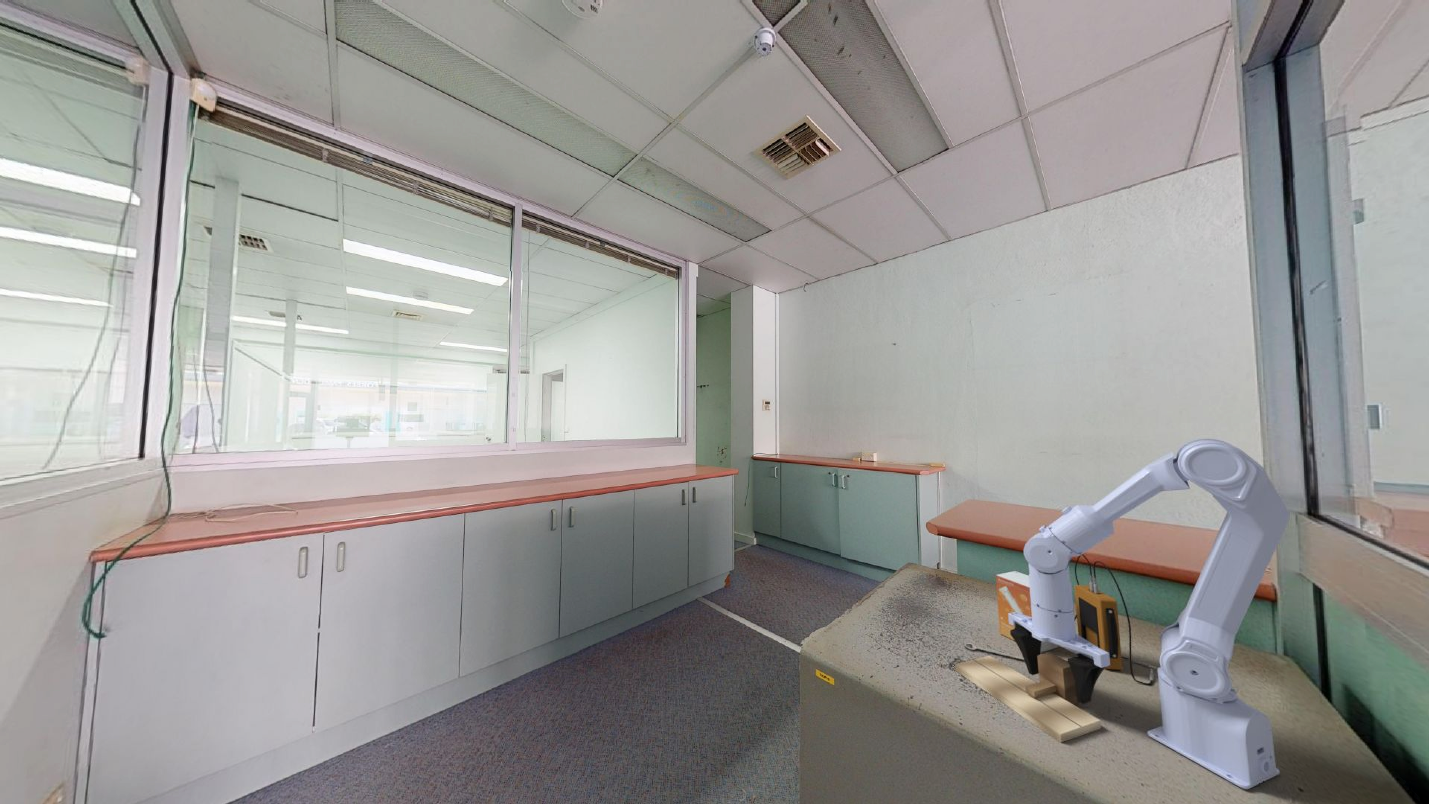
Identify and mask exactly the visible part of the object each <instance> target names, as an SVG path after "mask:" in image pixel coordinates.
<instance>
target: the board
mask: <svg viewBox="0 0 1429 804" xmlns="http://www.w3.org/2000/svg"><path fill="white" fill-rule="evenodd" d="M954 668H955V672H957V673H959V674H960V675H962V677H964V678H966V679H967V680H969V681H970V682H971V683H973V684H974V685H976V686H978V687H979V688H980V689H982V690H984V692H986V693H987V694H989V695H991V696H992V697H994V698H995V699H996V700H998V701H999V702H1001V703H1002V704H1004V705H1006V706H1007V708H1010V709H1011V710H1012V711H1014V712H1015V713H1017V714H1019V715H1020V716H1021V717H1023V718H1024V719H1025V720H1027V721H1029V722H1030V723H1031V724H1033V725H1035V726H1036V727H1037V728H1039V729H1040V730H1042V731H1043V732H1044V733H1046V734H1048V736H1051V737H1052V738H1054V739H1055V740H1056V741H1058V742H1059V743H1061V742H1062V743H1064V741H1065V742H1067V741H1070V740H1073V739H1075V738H1079V737H1081V736H1083V735H1084V736H1085V735H1087V734H1090V733H1092V732H1096V731H1098V730H1101V729H1102V727H1101V726H1102V725H1101V719H1099V718H1097V717H1095V716H1094V715H1092V714H1090V713H1088V712H1086V711H1085V710H1083V709H1082V708H1080V707H1078V706H1076V705H1075V704H1071V703H1070V702H1068V701H1066V700H1064V699H1063V698H1061V697H1059V696H1058V695H1056V694H1054V693H1049V694H1046V695H1043V696H1039V697H1036V698H1034V697H1032V696H1030V695H1029V694H1027V693H1026V687H1025V686H1028V685H1032V684H1035V683H1036V682H1035V681H1034V680H1032V679H1030V678H1028V677H1026V676H1025V675H1023V674H1022V673H1020V672H1018V671H1017V670H1015V669H1013V668H1011V667H1010V666H1008V665H1006V664H1004V663H1003V662H1001V661H1000V660H998V659H996V658H994V657H993V656H991V655H987V656H983V657H977V658H975V659H974V658H973V659H971V660H966V661H962V662H959V663H956V664H955V666H954Z"/></svg>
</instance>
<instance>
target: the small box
mask: <svg viewBox="0 0 1429 804" xmlns="http://www.w3.org/2000/svg"><path fill="white" fill-rule="evenodd" d="M995 576H996V577H995V579H996V595H997V609H998V610H997V611H998V612H997V613H998V624H999V625H998V627H999V634H1000V635H1002V636H1004V637H1006V638H1008V639H1010V640H1012V641H1014V642H1015V640H1014V639H1013V637H1012V636H1011V634H1010V630H1013V629H1014V628H1015V626H1013V625H1011V624H1009V617H1008V613H1013V612H1018V613H1020V614H1023V615H1026V616H1029V617H1032V612H1031V599H1030V586H1029V574H1025V573H1022V572H1019V571H1016V570H1014V571H1009V572H1002V573H999V574H996V575H995ZM1059 647H1060V646H1059V645H1057V644H1054V643H1051V642H1048V641H1047V642H1041V653H1044V652H1047V651H1050V650H1054V649H1057V648H1059Z"/></svg>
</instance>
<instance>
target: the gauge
mask: <svg viewBox="0 0 1429 804" xmlns="http://www.w3.org/2000/svg"><path fill="white" fill-rule="evenodd" d="M1037 657H1038V670H1039V674H1038V682H1035V684H1032V685H1028V686H1025V687H1026V693H1027V694H1029V695H1030V696H1032V697H1034V698H1036V697H1039V696H1043V695H1046V694H1049V693H1054V694H1056V695H1058V696H1059V697H1061V698H1063V699H1064V700H1066V701H1068V702H1070V703H1071V704H1073V705H1075V704H1077V703H1079V702H1078V701H1077V697H1076V691H1075V681H1074V677H1073V673H1072V670H1071V667H1070V665H1069V663H1068V660H1066V659H1064V658H1062V657H1060V656H1058V655H1056V654H1054V653H1053V652H1049V651H1048V652H1045V653H1043V654H1042V653H1041V655H1038V656H1037Z"/></svg>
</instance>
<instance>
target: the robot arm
mask: <svg viewBox="0 0 1429 804" xmlns="http://www.w3.org/2000/svg"><path fill="white" fill-rule="evenodd" d="M1188 481H1190V482H1192V483H1193V484H1195V485H1196V486H1197V487H1199V488H1201V489H1203V490H1204V491H1206V492H1208V493H1209V494H1211V495H1212V498H1214V500H1216V501H1217V503H1219V504H1220V506H1221V507H1222V508H1223V509H1224V511H1226V514H1225V516H1224V519H1223V521H1222V523H1221V525H1220V528H1219V530H1218V532H1217V534H1216V537H1215V539H1214V541H1213V544H1212V546H1211V549H1210V551H1209V552H1208V555H1207V557H1206V560H1205V562H1204V564H1203V567H1202V569H1201V571H1200V574H1199V576H1198V579H1197V581H1196V583H1195V585H1194V587H1193V590H1192V591H1191V594H1190V596H1189V599H1188V601H1187V604H1186V606H1185V608H1184V609H1183V610H1182V611H1181V612H1180V613H1179V614H1178V615H1179V616H1178V618H1177V620H1176V621H1175V622H1174V623H1172V624H1171V625H1169V626H1166V627H1165V628H1163V629H1162V630H1161V632H1160V635H1159V642H1160V644H1161V645H1160V646H1161V654H1159V655H1160V656H1159V665H1160V666H1159V667H1157V668H1158V669H1157V678H1158V687H1159V688H1158V690H1159V699H1160V700H1159V701H1160V710H1161V721H1162V725H1161V726H1158V727H1156V728H1153V729H1151V730H1148V731H1147V736H1149V737H1150V738H1152V739H1154V740H1155V741H1157V742H1160V743H1161V744H1163V745H1164V746H1166V747H1168V748H1170V749H1172V750H1173V751H1175V752H1177V753H1178V754H1180V755H1182V756H1184V757H1185V758H1187V759H1189V760H1191V761H1193V762H1195V763H1197V764H1198V765H1200V766H1202V767H1204V768H1206V769H1207V770H1209V771H1211V772H1212V773H1215V774H1216V775H1218V776H1219V777H1221V778H1223V779H1225V780H1227V781H1228V782H1231V784H1234V785H1236V787H1237V786H1238V787H1239V788H1241V789H1243V790H1249V789H1251V788H1253V787H1255V786H1257V785H1259V783H1260V784H1261V783H1263V781H1264V782H1265V781H1268V780H1270V779H1272V778H1274V777H1275V776H1278V775H1279V774H1280V773H1281V772H1280V769H1279V768H1277V766H1276V756H1275V746H1274V737H1273V730H1272V726H1271V721H1270V720H1269V718H1268V716H1267V715H1266V714H1265V713H1264V712H1262V711H1261V710H1259V709H1256V708H1255V707H1254V706H1251V705H1249V704H1248V703H1246V702H1245V701H1243V700H1242V699H1241V698H1240V697H1238V696H1237V695H1238V694H1237V691H1236V689H1235V688H1234V687H1233V681H1232V678H1231V675H1230V670H1229V665H1230V662H1231V660H1232V657H1233V653H1234V646H1235V639H1236V635H1237V633H1238V631H1239V629H1240V627H1241V624H1242V623H1243V620H1244V618H1245V615H1246V614H1247V612H1248V610H1249V607H1250V605H1251V602H1252V601H1253V598H1254V596H1255V594H1256V592H1257V590H1258V588H1259V586H1260V583H1261V582H1262V579H1263V577H1264V575H1265V573H1266V571H1267V569H1268V566H1269V564H1270V562H1271V560H1272V557H1274V556H1273V555H1274V554H1275V552H1276V549H1277V547H1278V544H1279V543H1280V540H1281V539H1282V537H1283V534H1284V532H1285V529H1286V528H1287V526H1288V523H1289V521H1290V512H1289V510H1288V508H1287V506H1286V504H1285V503H1284V501H1283V499H1282V498H1281V496H1280V494H1279V493H1278V491H1277V489H1276V487H1275V485H1274V484H1273V483H1272V481H1271V479H1270V477H1269V475H1268V473H1267V470H1266V469H1265V467H1264V466H1262V465H1261V464H1260V463H1258V461H1256V460H1255V459H1254V458H1253V457H1251V456H1250V455H1248V453H1246V452H1245V451H1243V450H1242V449H1241V448H1239V447H1236V446H1234V445H1232V444H1231V443H1229V442H1226V441H1224V440H1220V439H1216V438H1215V439H1214V438H1198V439H1194V440H1191V441H1188V442H1186V443H1185V444H1183V445H1181V447H1180V448H1179V449H1178V450H1177V452H1176V456H1175V451H1171V452H1169V453H1167V454H1164V455H1163V456H1161V457H1159V458H1158V459H1155V460H1154V461H1152V462H1150V463H1149V464H1147V465H1144V466H1143V467H1142V468H1141V469H1139V470H1138V471H1137V472H1136V473H1134V474H1133V475H1132V476H1130V477H1129V478H1128V479H1127V480H1125V481H1124V482H1122V483H1121V484H1120V485H1119V486H1118V487H1116V488H1114V489H1113V490H1112V491H1110V493H1108V494H1106V496H1104V497H1103V498H1101V499H1100V500H1099V501H1098V502H1096V503H1095V504H1093V505H1085V504H1077V505H1075V506H1073V507H1071V506H1070V505H1069V506H1066V507H1065V508H1063V510H1061V513H1062V514H1063V515H1061V516H1060V517H1058V518H1057V519H1056V520H1054V521H1053V522H1051V523H1050V524H1049V525H1047V526H1046V525H1045V524H1044V525H1042V526H1041V527H1040V528H1039V529H1038V530H1039V531H1040V532H1038V533H1036V534H1034V535H1033V536H1032V537H1031V538H1029V539H1028V540H1027V541H1026V543H1025V545H1024V547H1023V556H1024V558H1025V561H1027V563H1028V572H1029V574H1028V576H1029V586H1030V599H1031V612H1032V617H1029V616H1026V615H1023V614H1020V613H1018V612H1013V613H1008V617H1009V624H1011V625H1013V626H1015V628H1014V629H1013V630H1010V634H1011V636H1012V637H1013V639H1014V640H1015V641H1014V640H1013V641H1014V642H1015V643H1016V646H1017V647H1018V649H1019V651H1020V653H1021V655H1022V657H1023V661H1024V663H1025V665H1026V670H1027V672H1028V674H1029V675H1031V676H1035V675H1039V670H1038V657H1037V656H1038V655H1041V654H1042V652H1041V642H1047V641H1048V642H1051V643H1054V644H1057V645H1059V647H1061V648H1064V649H1066V650H1068V651H1070V652H1072V653H1074V654H1076V656H1073V657H1068V658H1067V661H1068V663H1069V665H1070V667H1071V670H1072V673H1073V677H1074V681H1075V691H1076V697H1077V701H1078V703H1080V704H1083V705H1085V704H1087V703H1090V702H1091V701H1092V696H1093V692H1094V689H1095V685H1096V683H1097V681H1098V679H1099V677H1100V676H1101V674H1102V672H1104V670H1106V669H1105V668H1106V667H1107V666H1110V657H1109V653H1108V652H1106V651H1104V650H1102V649H1100V648H1098V647H1096V646H1095V645H1093V644H1092V643H1090V642H1088V641H1087V640H1085V639H1084V638H1082V637H1080V636H1079V635H1078V633H1076V622H1075V621H1076V620H1075V609H1074V597H1073V587H1072V585H1073V583H1072V581H1071V578H1070V577H1071V576H1070V567H1069V565H1068V564H1069V562H1071V559H1072V558H1075V557H1078V556H1080V555H1081V556H1083V555H1084V554H1085V553H1087V552H1088V551H1089V550H1091V549H1093V548H1094V547H1095V546H1097V545H1098V544H1100V543H1102V542H1103V541H1105V540H1106V539H1107V538H1109V537H1111V536H1113V534H1114V532H1115V531H1114V530H1115V529H1114V528H1115V527H1114V522H1115V521H1116V520H1118V519H1120V518H1121V517H1123V516H1124V515H1125V514H1128V512H1130V511H1133V510H1134V509H1135V508H1137V507H1139V506H1140V505H1141V504H1143V503H1146V502H1147V501H1148V500H1150V499H1151V498H1153V497H1155V496H1157V495H1158V494H1160V493H1162V492H1167V491H1168V492H1171V491H1172V492H1173V491H1184V490H1191V487H1190V485H1189V482H1188ZM1082 554H1083V555H1082ZM1081 556H1080V557H1081Z"/></svg>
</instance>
